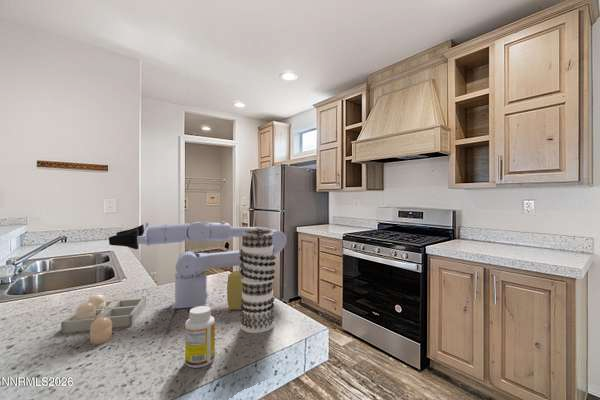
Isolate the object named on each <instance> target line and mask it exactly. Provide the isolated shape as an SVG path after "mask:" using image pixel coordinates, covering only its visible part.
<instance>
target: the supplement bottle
mask: <svg viewBox="0 0 600 400" xmlns="http://www.w3.org/2000/svg"><path fill="white" fill-rule="evenodd" d="M211 314H212V312H211V307H210V306H207V305H205V306H198V307H191V308H190V310H189V315H188V317H189V318H188V319H187V320H186V321H185V323H184V330H185V331H184V349H185V350H184V353H185V355H184V361H185V365H186V366H188V367H189V368H194V369H197V368H203V367H206V366H208V365H210V364H211V363H212V362H213V361H214V359H215V356H216V354H215V353H216V351H215V349H216V344H215V343H216V341H215V340H216V336H215V335H216V333H215V329H216V328H215V326H216V325H215V324H216V322H215V321H216V320H215V317H214V316H212V315H211Z"/></svg>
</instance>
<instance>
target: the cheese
mask: <svg viewBox="0 0 600 400" xmlns="http://www.w3.org/2000/svg"><path fill="white" fill-rule="evenodd" d="M240 271H241V270H238V271H237V270H236V271H233V272H232V271H231V272H230V273H229V274H228V276H227V285H226V297H227V298H226V299H227V308H228V309H227V310H242V309H241V305H242V303H241V299H242V291H243V282H242V281H241V277H242V275H241V273H240Z"/></svg>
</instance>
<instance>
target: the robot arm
mask: <svg viewBox="0 0 600 400" xmlns="http://www.w3.org/2000/svg"><path fill="white" fill-rule="evenodd" d="M251 227H252V226H232V225H231V224H230V223H228V222H226V221H224V220H221V221H220V222H209V220H205V221H204V223H203V222H201V221H193V222H192V223H187V222H186V223H171V224H169V223H168V224H157V225H150V222H149V221H145V226H144V224H141V225H139V226H136V227H134V228H131V229H126V230H125V229H124V230H121V231H118V232H116V234H115V235H112V236H109V237H108V245H109V246H115V247H127V248H130V249H134V250H138V249H139V245H142V244H144V245H145V246H146V247H148V246H149V247H150V246H153V245H162V244H163V245H164V244H175V243H183V242H189V241H190V242H191V241H193V242H197V243H201V242H203V241H205V240H207V241H214V242H215V241H217V242H218V241H221V242H222V241H223V242H224V241H226V242H227V241H229V240H230V239H231V238H232V237H233V238H243V235H242V234H244V233H245V231H246V230H247V229H248V228H251ZM269 229H270V231H271V232H272V233H274V234H272V245H273V248H274V251H273V252H272V256H275V255H276V254H279V253H281V252H282V251H283V249H284V248H285V246H286V244H287V235H286V234H285V233H284V232H283V231H282V230H278V229H276V228H269ZM240 250H241V249H240ZM240 250H238V249H237V250H232V251H231V250H229V251H220V252H218V251H217V252H209V253H207V252H194V251H192V250H188V251H183V252H182V253H180V254H179V256H178V258H177V261H176V264H175V272H176V273H175V275H174V301H173V303H172V305H171V309H175V310H177V309H187V308H194V307H198V306H207V305H206V304H207V298H208V291H207V290H208V289H207V286H208V285H207V283H208V282H207V281H208V280H207V279H208V277H207V274H206V273H203V272H205V271H207V270H213V269H220V268H231V267H238V266H239V267H240V265H241V263H242V261H241V260H240V259H239V258H240V256H241V254H240V253H239V251H240Z"/></svg>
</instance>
